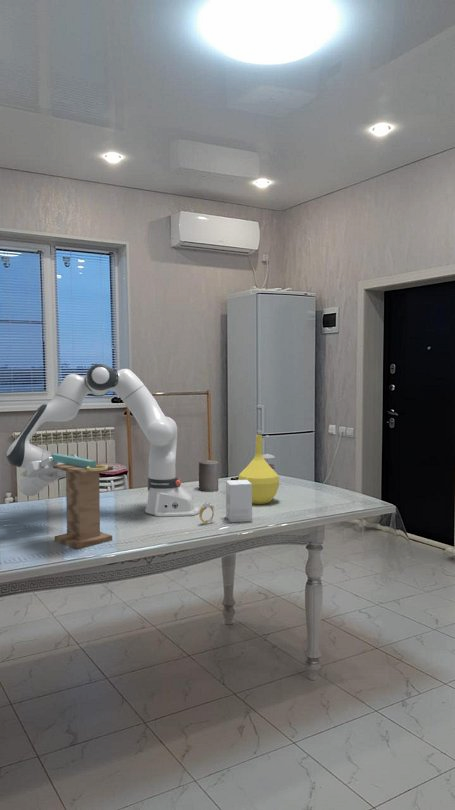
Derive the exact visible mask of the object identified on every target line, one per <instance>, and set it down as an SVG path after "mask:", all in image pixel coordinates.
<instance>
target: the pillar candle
mask: <svg viewBox="0 0 455 810" xmlns="http://www.w3.org/2000/svg"><path fill="white" fill-rule="evenodd" d="M209 459H210V458H209ZM209 459H208V460H200V461H199V462H198V491H200V492H204V493H205V492H208V493H209V492H211V493H212V492H217V491H219V461H217V460H209Z"/></svg>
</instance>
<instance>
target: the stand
mask: <svg viewBox="0 0 455 810" xmlns="http://www.w3.org/2000/svg"><path fill="white" fill-rule="evenodd" d="M96 465H100V464H99V463H98V464H97V463H96ZM107 466H108V469H107V470H102V471H89V470H87V468H84V467H79V466H74V465H69V464H59V465H53V468H55V469H59V470H64V471H66V478H65V491H66V493H65V495H66V500H65V501H66V533H63V534H59V535H54V542H57V543H59V544H62V543H63V544H62V545H64V546H67V545H68V547H70V548H73V549H76V550H81V549H84V548H88V547H91V546H92V547H93V546H95V545H99V544H103V542H104V543H107V542H110V541H111V542H112V541H113V535H111V534H108V533H105V532H102V531H101V523H100V522H101V510H100V509H101V508H100V507H101V506H100V502H101V501H100V473H102V472H109V471H113V470H114V466H110V465H107Z"/></svg>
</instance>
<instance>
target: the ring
mask: <svg viewBox="0 0 455 810" xmlns="http://www.w3.org/2000/svg"><path fill="white" fill-rule="evenodd" d="M207 508H209V509H210V510H211V512H212V515H211V518H210V519H208V520H205V519H203V516H202V515H203V513H204V511H206V509H207ZM199 509H200V510H199V513H198V518H199V520H200V521H201V522H202V523H204V524H207V523H208V524H210V523H211V522H212V521H214V519H215V516H216V509H215V507H214V505H212V504H211V502H208V503H207V502H204V503H203V504H202V505H201V506H200V507H199Z"/></svg>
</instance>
